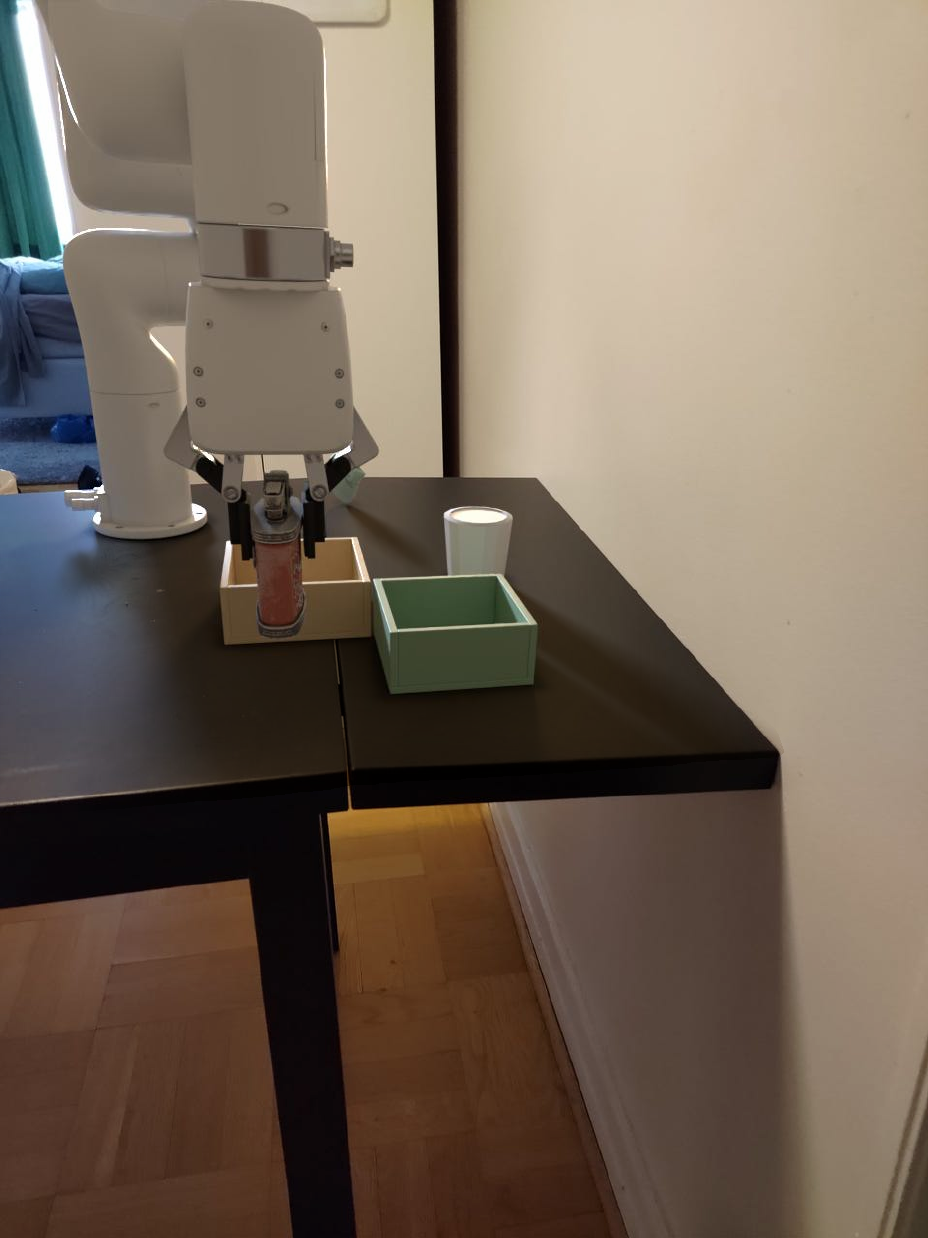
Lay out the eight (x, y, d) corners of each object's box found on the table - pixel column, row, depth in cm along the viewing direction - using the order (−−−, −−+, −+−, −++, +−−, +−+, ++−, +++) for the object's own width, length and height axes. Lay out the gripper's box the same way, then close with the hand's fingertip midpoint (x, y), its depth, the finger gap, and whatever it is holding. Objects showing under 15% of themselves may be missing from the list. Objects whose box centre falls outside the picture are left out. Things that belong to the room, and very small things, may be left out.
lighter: (262, 592, 63) (254, 459, 59) (308, 591, 64) (304, 460, 59) (251, 640, 56) (242, 492, 52) (303, 639, 56) (298, 493, 52)
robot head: (371, 509, 109) (370, 457, 106) (341, 513, 107) (340, 460, 104) (345, 494, 115) (344, 444, 112) (317, 497, 113) (315, 447, 110)
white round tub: (503, 596, 83) (507, 527, 80) (434, 589, 84) (436, 521, 81) (513, 573, 89) (517, 508, 86) (449, 566, 90) (451, 502, 87)
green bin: (390, 694, 64) (390, 632, 62) (373, 633, 74) (373, 578, 72) (533, 684, 66) (538, 624, 64) (498, 626, 76) (501, 573, 74)
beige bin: (224, 645, 71) (219, 587, 69) (230, 591, 82) (226, 540, 80) (371, 637, 73) (370, 581, 71) (358, 586, 84) (357, 536, 82)
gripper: (395, 263, 55) (392, 532, 63) (126, 252, 52) (157, 537, 59) (412, 269, 49) (407, 569, 56) (105, 257, 45) (143, 577, 53)
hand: (278, 550), depth 58 cm, fingers closed on lighter, 3 cm apart
